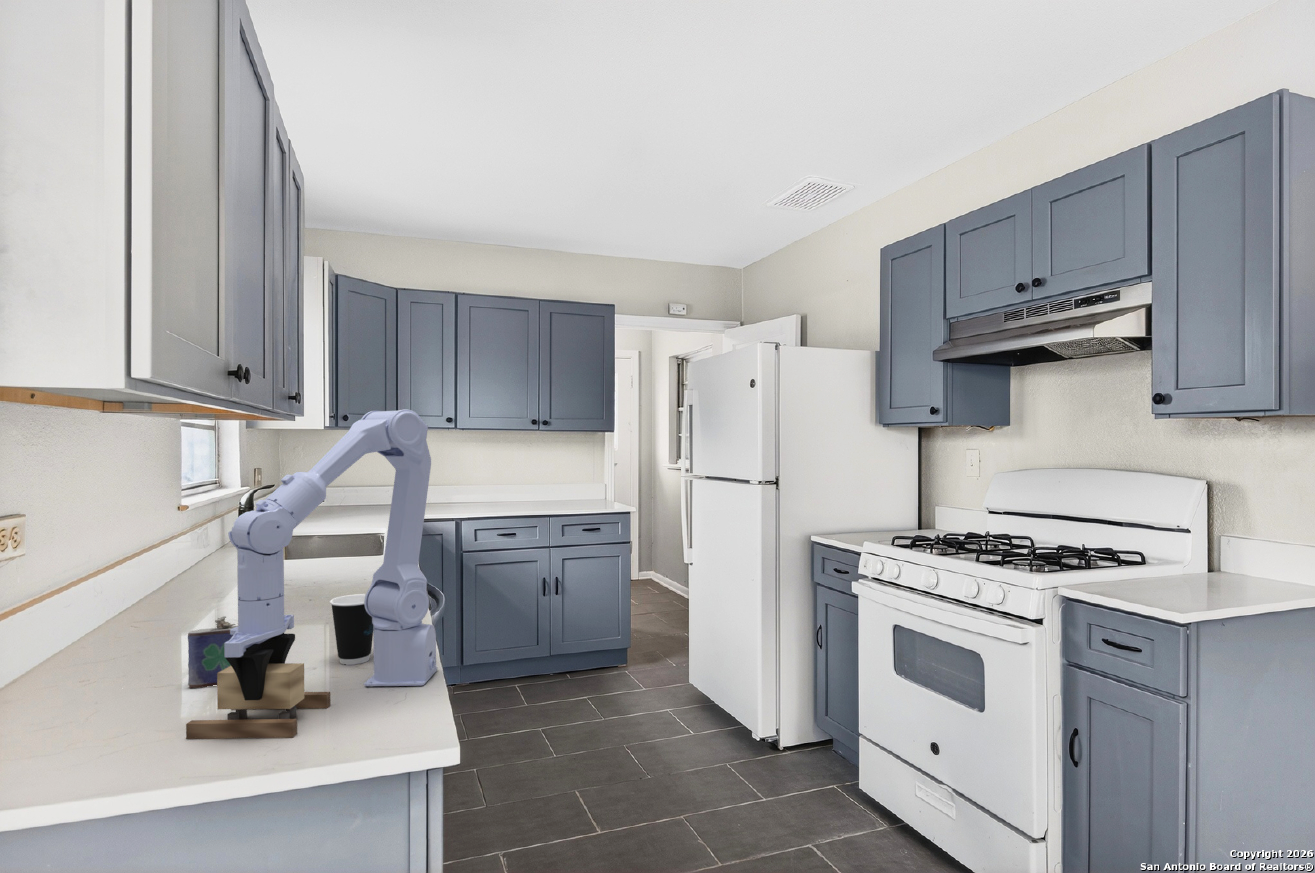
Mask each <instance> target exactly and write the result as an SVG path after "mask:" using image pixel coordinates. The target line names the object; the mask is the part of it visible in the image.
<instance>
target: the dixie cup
mask: <svg viewBox="0 0 1315 873" xmlns="http://www.w3.org/2000/svg"><path fill="white" fill-rule="evenodd" d="M365 596H366V593H357V594H349V595H348V594H347V595H342V596H337V597H333V598H332V599H331V600H329V604H330V605H331V610H332V618H333V626H334V635H335V642H336V651H337V657H338V659H339V662H340V664H341V665H344V664H346V665H345V666H347V665H348V666H352V665H359V664H363V663H366V662H368V661H369V660H370V656H371V653H372V647H373V640H374V635H373V627H374V626H373V624H372V617H371V616H370V615H369V614H368V613H367V611H366V609H365V605H364V600H365Z"/></svg>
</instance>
